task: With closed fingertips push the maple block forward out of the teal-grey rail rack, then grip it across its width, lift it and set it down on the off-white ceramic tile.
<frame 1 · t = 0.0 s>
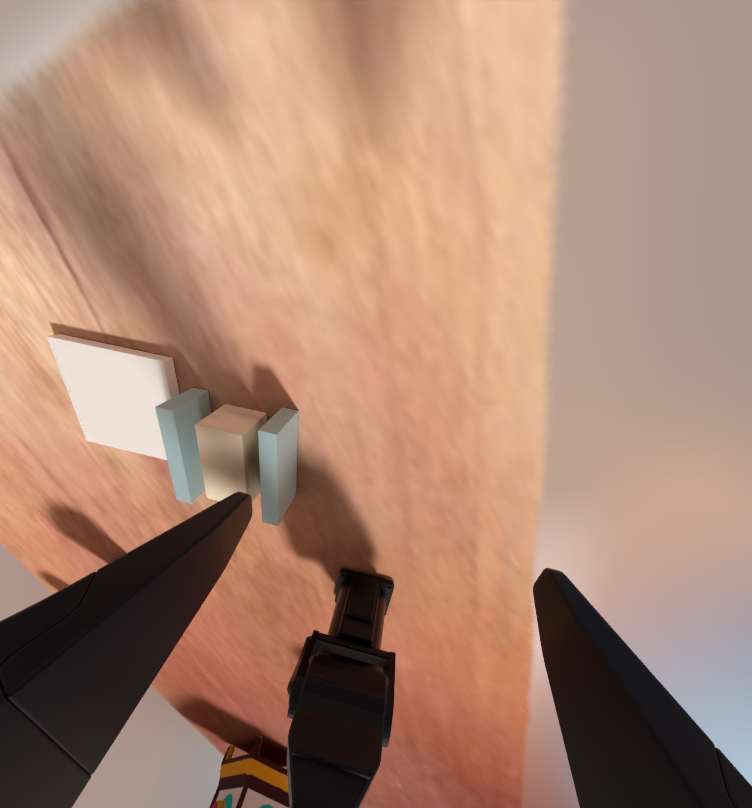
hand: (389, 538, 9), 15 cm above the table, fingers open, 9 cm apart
ceramic tile: (130, 400, 27), on the table
decorative lantern: (273, 752, 70), on the table
rail rack: (248, 444, 27), on the table
maple block: (249, 443, 28), on the table
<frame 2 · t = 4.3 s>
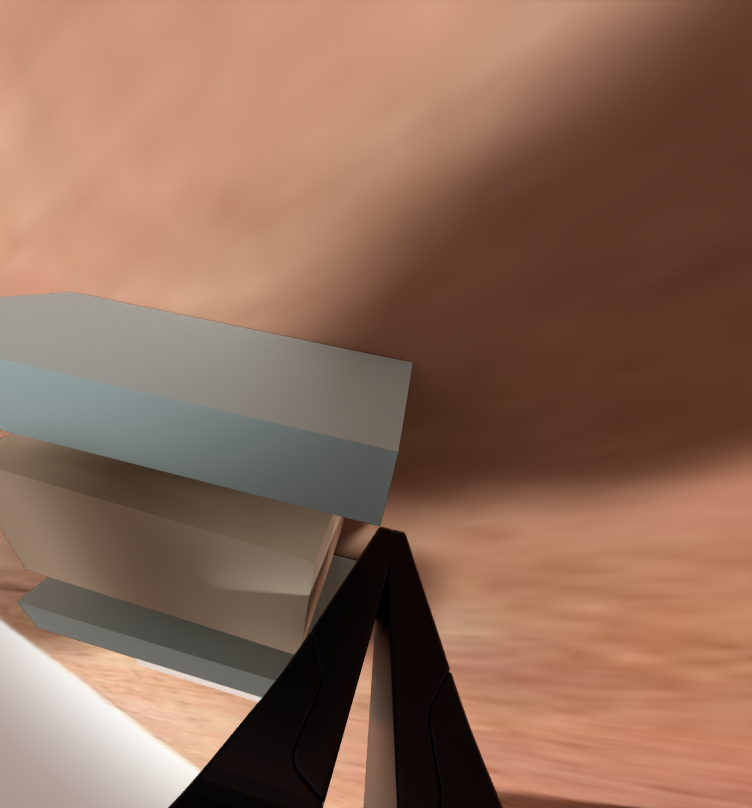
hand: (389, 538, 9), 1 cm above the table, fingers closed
ceramic tile: (222, 625, 16), on the table
rail rack: (244, 466, 10), on the table
maple block: (243, 462, 10), on the table, touching gripper
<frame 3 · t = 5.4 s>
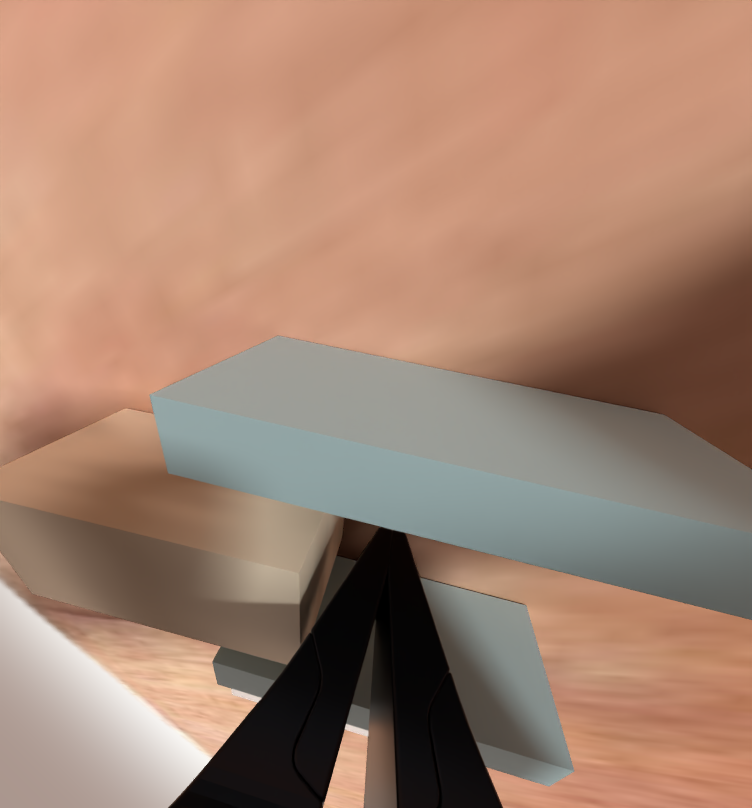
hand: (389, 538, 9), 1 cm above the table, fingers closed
ceramic tile: (331, 657, 15), on the table
rail rack: (417, 509, 10), on the table
maple block: (239, 475, 10), on the table, touching gripper
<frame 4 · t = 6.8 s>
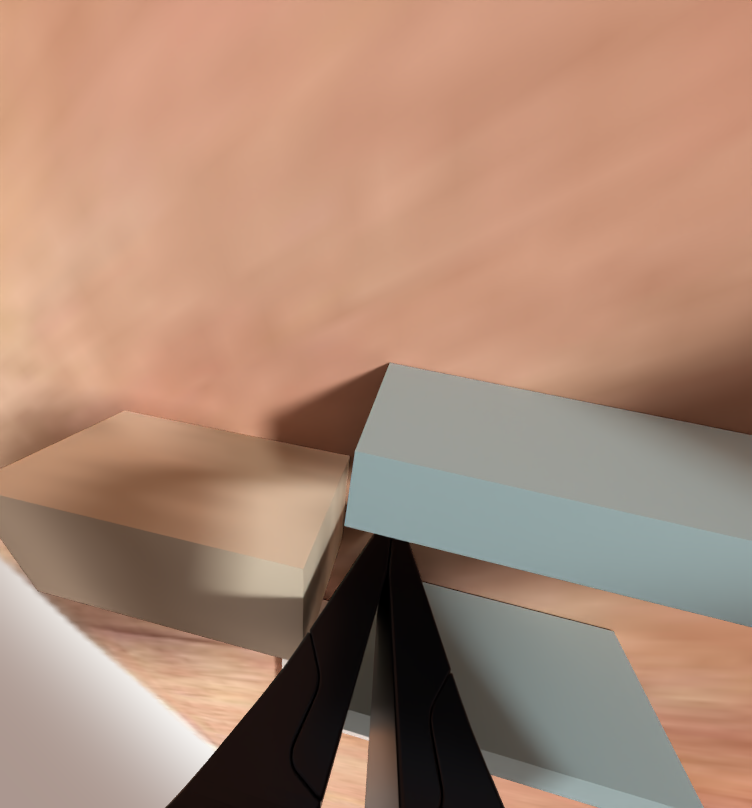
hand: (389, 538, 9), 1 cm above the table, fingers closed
rail rack: (512, 535, 9), on the table
maple block: (241, 475, 10), on the table
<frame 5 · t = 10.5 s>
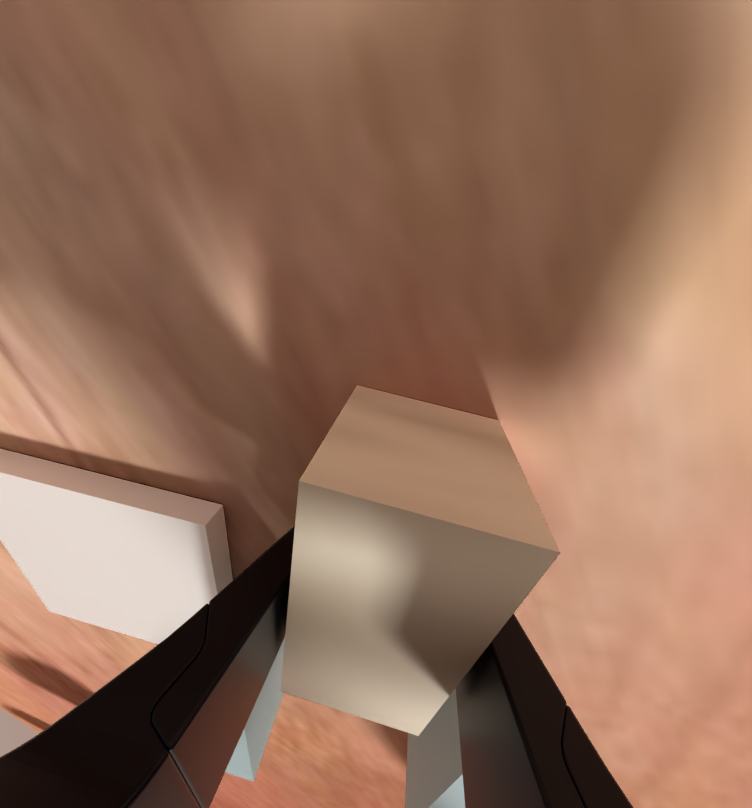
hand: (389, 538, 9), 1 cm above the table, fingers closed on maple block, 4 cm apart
ceramic tile: (129, 558, 14), on the table
rail rack: (360, 645, 14), on the table
maple block: (394, 504, 10), on the table, touching gripper
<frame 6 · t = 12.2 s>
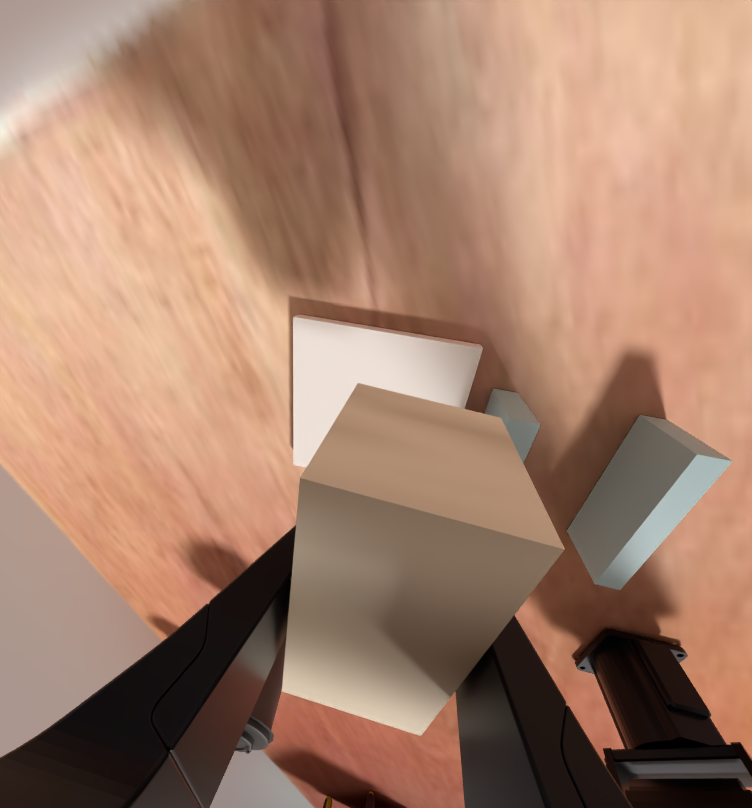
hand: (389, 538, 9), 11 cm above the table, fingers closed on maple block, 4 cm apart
ceramic tile: (375, 409, 19), on the table
coffee cup: (278, 615, 34), on the table
decorative lantern: (377, 807, 61), on the table
rail rack: (544, 468, 19), on the table
maple block: (396, 503, 10), point 10 cm above the table, touching gripper
when the fingers open (4 cm above the table, at t = 14.0 s): maple block drops 2 cm, resting on ceramic tile.
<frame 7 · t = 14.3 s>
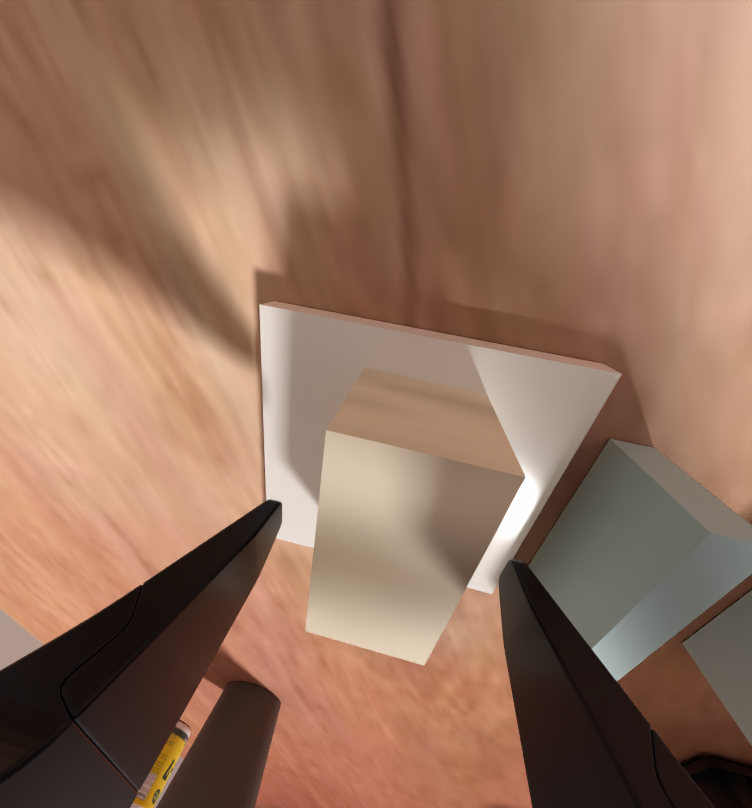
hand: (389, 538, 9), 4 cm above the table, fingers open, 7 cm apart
ceramic tile: (399, 460, 12), on the table
supplement bottle: (175, 721, 34), on the table
coffee cup: (254, 693, 26), on the table
rail rack: (670, 562, 12), on the table
maple block: (399, 474, 11), point 1 cm above the table, touching ceramic tile
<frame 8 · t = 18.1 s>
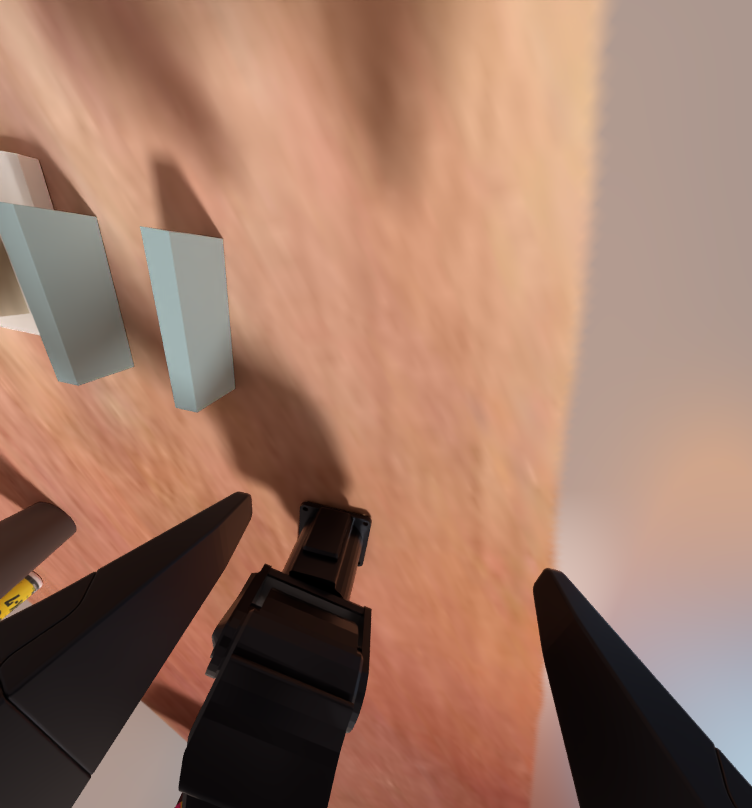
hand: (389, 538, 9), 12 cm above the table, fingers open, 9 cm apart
supplement bottle: (30, 574, 42), on the table
coffee cup: (57, 517, 34), on the table
rail rack: (162, 309, 20), on the table
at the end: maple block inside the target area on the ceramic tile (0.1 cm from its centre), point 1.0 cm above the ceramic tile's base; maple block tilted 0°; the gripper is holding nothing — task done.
